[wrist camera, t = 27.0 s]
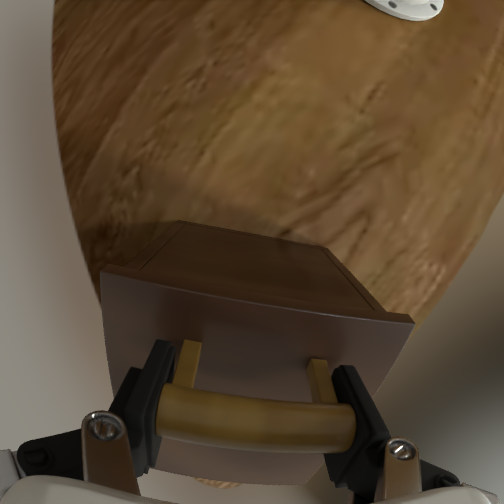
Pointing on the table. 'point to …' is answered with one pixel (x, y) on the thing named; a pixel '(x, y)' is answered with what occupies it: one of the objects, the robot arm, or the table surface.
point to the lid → (245, 372)
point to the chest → (253, 265)
